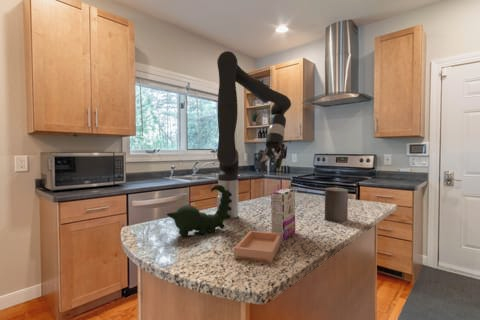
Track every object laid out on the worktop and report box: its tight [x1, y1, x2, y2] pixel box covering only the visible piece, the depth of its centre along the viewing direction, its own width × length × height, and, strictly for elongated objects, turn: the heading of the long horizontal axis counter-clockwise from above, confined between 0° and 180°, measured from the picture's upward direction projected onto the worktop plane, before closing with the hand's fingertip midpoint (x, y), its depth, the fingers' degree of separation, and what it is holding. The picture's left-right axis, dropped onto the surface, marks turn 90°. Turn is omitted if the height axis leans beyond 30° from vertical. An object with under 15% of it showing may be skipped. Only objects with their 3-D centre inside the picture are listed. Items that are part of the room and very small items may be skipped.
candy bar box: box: [270, 188, 296, 242], centre depth 95 cm, size 11×5×16 cm, turn 148°
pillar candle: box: [324, 187, 349, 223], centre depth 117 cm, size 10×10×15 cm
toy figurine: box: [166, 184, 232, 238], centre depth 99 cm, size 9×19×25 cm
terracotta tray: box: [233, 230, 283, 263], centre depth 82 cm, size 11×17×3 cm, turn 162°
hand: (269, 169), depth 111 cm, fingers open, 8 cm apart
